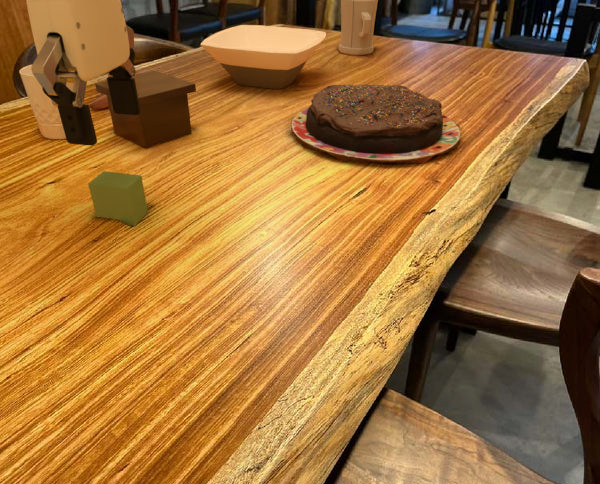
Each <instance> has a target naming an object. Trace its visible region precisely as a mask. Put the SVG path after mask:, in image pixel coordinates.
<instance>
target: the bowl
mask: <svg viewBox="0 0 600 484" xmlns="http://www.w3.org/2000/svg"><path fill="white" fill-rule="evenodd" d="M326 36H327V32H326V31H321V30H314V29H308V28H295V27H287V26H286V27H285V26H273V25H260V24H259V25H258V24H257V25H256V24H240V25H236V26H232V27H228V28H226V29H223V30H220V31H216V32H215V33H213V34H211V35H209V36H207V37H206V38H205V39H203V40H202V42H201V43H200V44H199V45H200V47H201V48H203V50H205V52H206V53H208V54H209V55H210V56H211V57H212V58H213V59H214V60H215V61H216V62H217V63H219V64H220V65H221V66H222V67H223V69H224V70H225V71H226V72H227V73H228V75H229V76H230V77H231V79H233V81H234V82H235V83H236V84H237V85H240V86H245V87H250V88H251V87H252V88H259V89H260V88H261V89H272V90H273V89H274V90H281V89H284V88H286V87H288V86H289V85H291V84H292V83H294V82H295V80H296V79H297V77H298V76H299V74H301V73H300V72H301V71H302V69H303V68H304V67H305V65H306V63H307V62H308V60H309V59H310V58H311V56H312V55H313V54H314V53H315V52H316V50H317V49H318V48H319V47H320V45H321V44H322V43H323V42H324V41H325V39H326Z"/></svg>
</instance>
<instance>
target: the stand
mask: <svg viewBox="0 0 600 484" xmlns="http://www.w3.org/2000/svg"><path fill="white" fill-rule="evenodd" d="M131 78H133V77H131ZM134 78H135V83H136V89H137V94H138V100H139V105H140V113H139V114H138V115H127V114H116V113H115V112H114V110H113V106H112V101H111V96H110V91H109V87H108V82H107V80H105V81H102V82H97V83H95V84H94V85H95V90H96V92H97V93H100V94H101V93H102V94H105V95H107V99H108V104H109V107H108V108H109V112H110V118H111V123H112V127H113V132H114V135H116V136H118V137H120V138H123V139H124V140H127V141H129V142H131V143H132V144H136V145H138V146H140V147H142V148H144V149H148V148H152V147H155V146H158V145H161V144H165V143H167V142H170V141H174V140H176V139H177V140H178V139H179V138H180V139H181V138H183V137H187V136H189V135H192V134H193V132H192V124H191V115H190V107H189V106H190V105H189V98H188V95H189V94H193V93H196V92H197V87H196V83H194V82H191V81H188V80H185V79H183V78H182V79H181V78H180V77H179V78H178V77H176V76H172V75H169V74H167V73H163V72H160V71H156V70H150V71H146V72H141V73H136V75H135V77H134Z"/></svg>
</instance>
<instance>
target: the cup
mask: <svg viewBox="0 0 600 484" xmlns="http://www.w3.org/2000/svg"><path fill="white" fill-rule="evenodd" d="M378 2H379V0H340V5H341V6H340V11H341V12H340V13H341V14H340V15H341V17H340V18H341V20H340V22H341V24H340V25H341V26H340V29H341V30H340V43H338V51H339V52H340V53H341V54H343V55H348V56H366V55H370V54H372V53H373V52H374V50H375V49H374V48H375V45H374V44H373V40H374V31H375V22H376V15H377V9H378Z"/></svg>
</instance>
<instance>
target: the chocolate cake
mask: <svg viewBox="0 0 600 484" xmlns="http://www.w3.org/2000/svg"><path fill="white" fill-rule="evenodd" d="M310 102H311V104H310V106H308V107H307V108H304V109H302V110H301V111H300V112H297V113H296V114H295V116H293V118H292V120H291V122H290V130H291V131H292V132H293V134H294V135H295V136H296V138H297V139H298V141H299V143H300V144H301V146H302V147H305V148H308V149H310V150H316V151H317V152H319V153H320V154H328V155H329V156H331V157H334V158H335V159H337V160H339V161H341V162H343V163H397V164H398V163H400V164H426V163H427V162H428V161H429V160H431V159H432V158H434V156H443V155H445V154H447V153H450V152H451V151H452V150H456V149H458V145H459V142H460V140H461V136H462V135H461V131H460V127H459V126H458V125H457V124H456V123H455V122H454V121H453V120H452V119H450V118H449V117H447V116H446V115H444V114H443V111H442V110H443V109H442V108H443V105H442V102H441V101H439V100H436V99H435V98H433V99H432V98H430V97H427V96H425V95H424V94H423V93H421V92H418V91H413V90H412V89H410V88H408V87H406V86H405V85H395V84H392V85H389V84H388V85H386V84H385V85H384V84H332V85H327V86H326V87H324V88H322V89H321V90H320V91H318V92H316V93H314V95H313V97H312V99H311V100H310Z"/></svg>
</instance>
